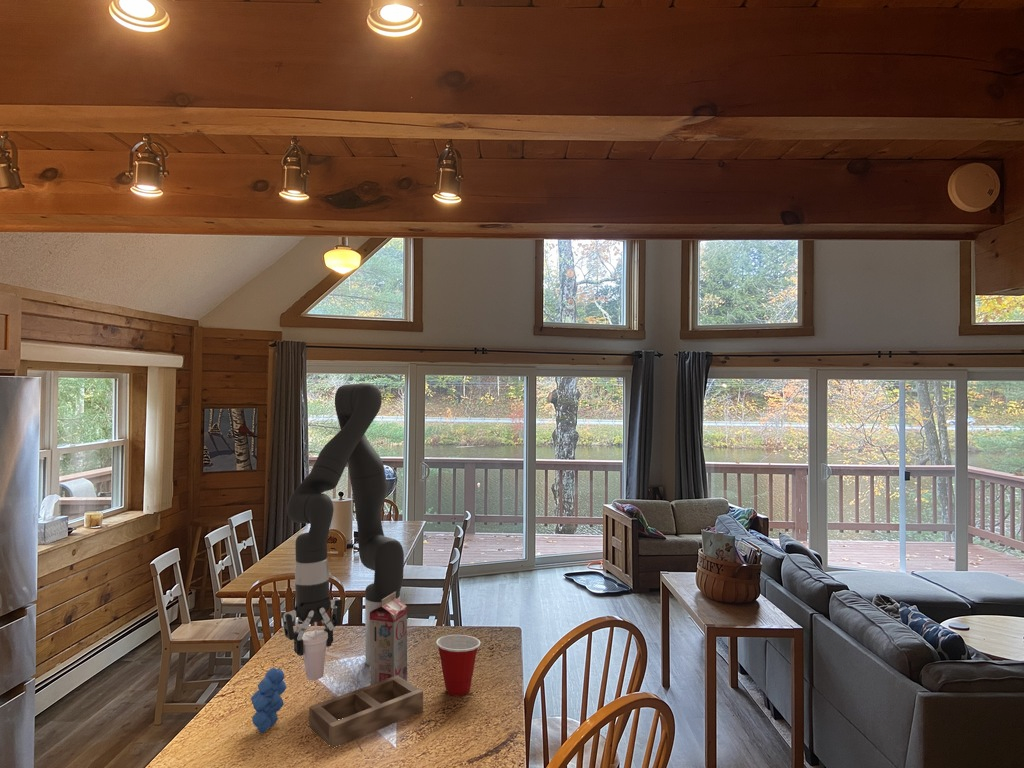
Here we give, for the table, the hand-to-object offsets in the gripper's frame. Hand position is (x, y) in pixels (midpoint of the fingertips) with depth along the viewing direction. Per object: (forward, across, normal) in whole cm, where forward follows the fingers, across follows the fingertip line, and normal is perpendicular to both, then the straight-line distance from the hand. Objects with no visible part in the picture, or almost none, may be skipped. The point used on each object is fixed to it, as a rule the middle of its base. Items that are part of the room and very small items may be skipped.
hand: (314, 649), depth 145 cm
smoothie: (+6, 0, 0) cm, 6 cm away
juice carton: (+13, -17, +4) cm, 22 cm away
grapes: (+12, +12, +2) cm, 18 cm away
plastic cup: (+13, -28, +18) cm, 36 cm away
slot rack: (+13, -5, +15) cm, 20 cm away
